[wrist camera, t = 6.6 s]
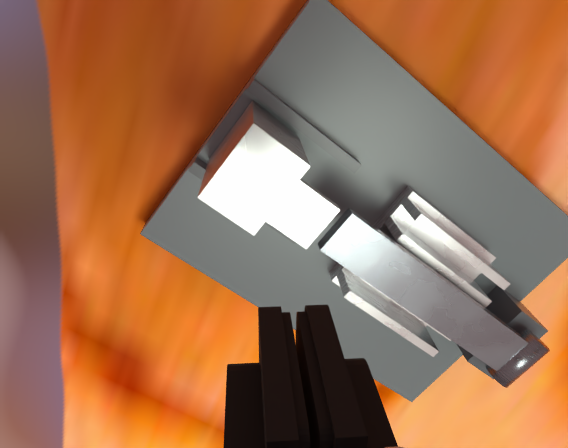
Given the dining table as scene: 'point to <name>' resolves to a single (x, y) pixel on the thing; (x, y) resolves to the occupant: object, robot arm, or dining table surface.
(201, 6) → the dining table surface
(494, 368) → the silver metal bar
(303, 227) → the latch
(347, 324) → the socket board
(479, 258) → the heatsink
